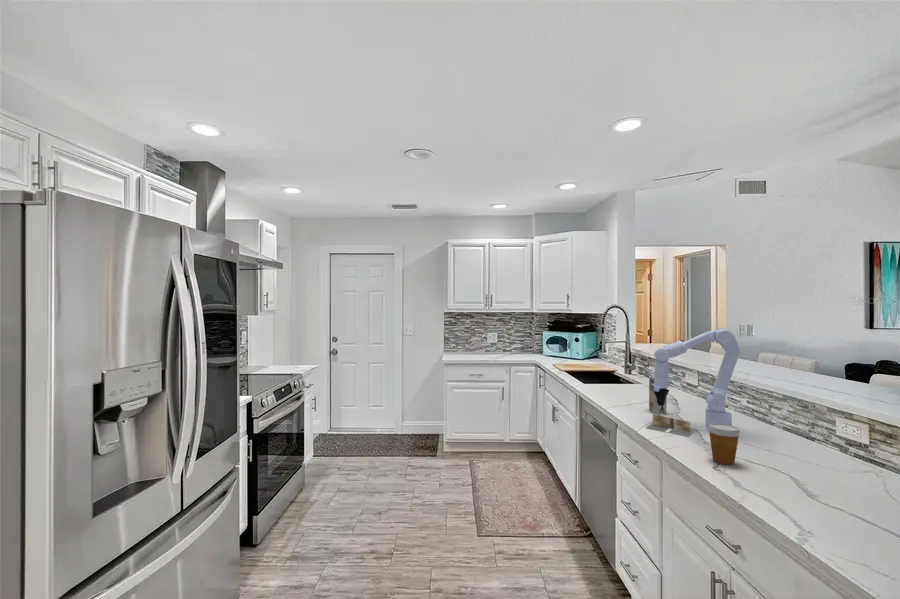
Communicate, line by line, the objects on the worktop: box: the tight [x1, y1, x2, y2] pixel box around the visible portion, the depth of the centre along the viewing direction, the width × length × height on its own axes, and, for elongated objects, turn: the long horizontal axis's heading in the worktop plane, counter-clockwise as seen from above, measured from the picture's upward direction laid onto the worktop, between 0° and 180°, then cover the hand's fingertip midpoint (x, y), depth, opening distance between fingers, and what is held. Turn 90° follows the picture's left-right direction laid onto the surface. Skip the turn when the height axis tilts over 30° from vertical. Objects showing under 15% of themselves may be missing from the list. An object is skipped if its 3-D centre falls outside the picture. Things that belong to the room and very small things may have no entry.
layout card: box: [645, 422, 699, 438], centre depth 184 cm, size 17×15×1 cm
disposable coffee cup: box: [708, 423, 741, 466], centre depth 148 cm, size 10×10×12 cm
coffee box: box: [648, 378, 668, 416], centre depth 215 cm, size 9×6×16 cm
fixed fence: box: [674, 418, 692, 432], centre depth 182 cm, size 6×1×4 cm, turn 48°
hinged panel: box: [652, 413, 675, 428], centre depth 187 cm, size 8×2×4 cm, turn 48°
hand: (660, 405), depth 193 cm, fingers closed
